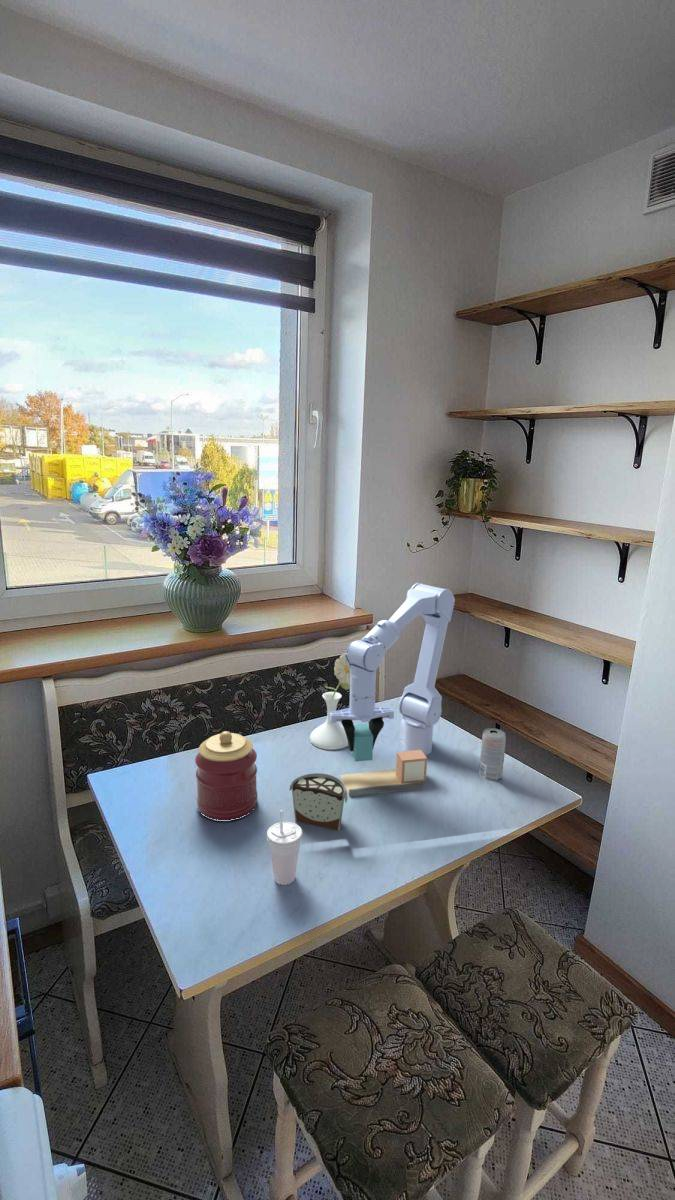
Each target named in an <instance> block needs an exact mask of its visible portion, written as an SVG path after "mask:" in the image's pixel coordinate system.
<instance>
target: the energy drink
mask: <svg viewBox="0 0 675 1200" xmlns="http://www.w3.org/2000/svg"><path fill="white" fill-rule="evenodd" d="M481 738H482V739H481V749H480V761H479V769H478V770H479V771H478V774H479V776H480V777H481V778H483V779H485V780H488V781H498V782H499V783H501V782H502V781H503V773H504V771H503V770H504V763H505V762H504V761H505V752H506V744H507V743H506V740H507V736H506V733H505V731H504V730H501V729H498V728H495V727H492V728H491V727H490V728H485V729H484V730H483V733H482V736H481Z"/></svg>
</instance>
